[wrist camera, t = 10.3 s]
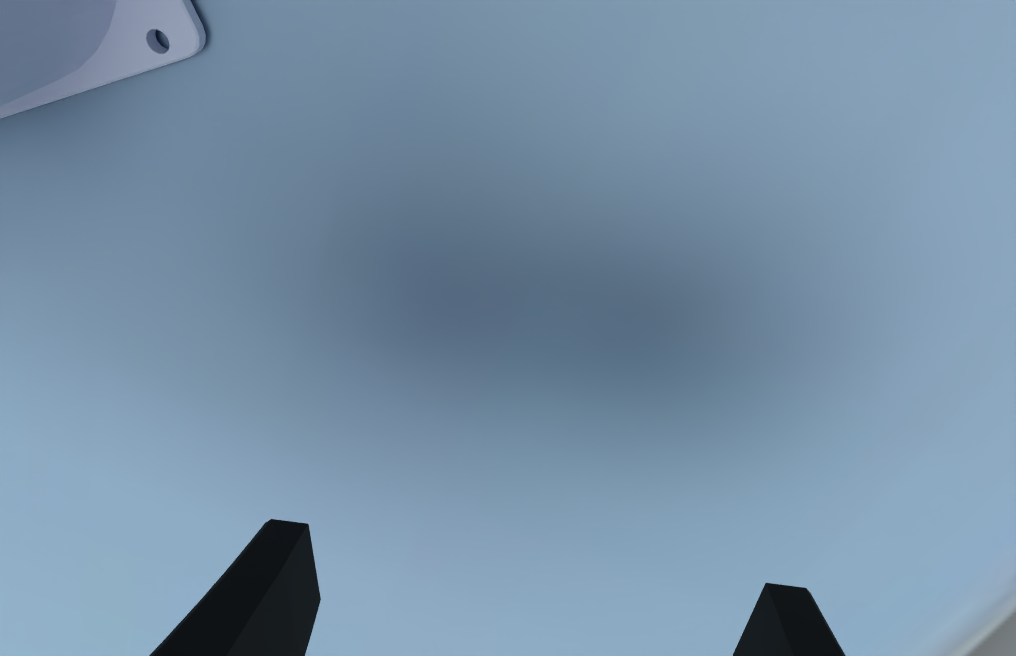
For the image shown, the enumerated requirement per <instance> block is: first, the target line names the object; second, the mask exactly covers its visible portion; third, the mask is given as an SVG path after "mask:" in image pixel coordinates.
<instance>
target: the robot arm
mask: <svg viewBox="0 0 1016 656" xmlns="http://www.w3.org/2000/svg"><path fill="white" fill-rule="evenodd" d="M156 29H158V30H159V31H161V32H163V33H164V34H165V35H166V37H167V38H168V41H169V44H170V46H169V49H166V48H164V47H162V46H161V45H160V44H159V43H158V41H157V39H156V36H155V32H156ZM205 39H206V34H205V31H204V28H203V25H202V23H201V21H200V19H199V17H198V15H197V13H196V11H195V9H194V7H193V5H192V3H191V1H190V0H0V119H1V118H4V117H7V116H10V115H13V114H16V113H19V112H22V111H25V110H29V109H32V108H35V107H38V106H41V105H44V104H47V103H50V102H53V101H56V100H59V99H63V98H66V97H69V96H72V95H75V94H78V93H81V92H84V91H87V90H90V89H93V88H96V87H100V86H103V85H106V84H109V83H112V82H115V81H118V80H121V79H124V78H127V77H130V76H133V75H137V74H140V73H143V72H146V71H149V70H152V69H155V68H158V67H161V66H164V65H167V64H170V63H174V62H177V61H180V60H183V59H186V58H189V57H191V56H193V55H195V54H196V53H198V52H199V51H201V50H202V49H203V47H204V45H205ZM320 600H321V599H320V593H319V586H318V580H317V574H316V568H315V562H314V556H313V549H312V543H311V537H310V531H309V525H308V524H305V523H298V522H290V521H282V520H274V519H271V520H269V521H268V522H266V523H265V524H264V525H263V526H262V528H261V529H260V530H259V531H258V533H257V534H256V535H255V536H254V538H253V539H252V540H251V541H250V543H249V544H248V545H247V546H246V547H245V549H244V550H243V551H242V552H241V554H240V555H239V556H238V557H237V558H236V560H235V561H234V562H233V563H232V564H231V565H230V567H229V568H228V569H227V570H226V571H225V573H224V574H223V575H222V576H221V577H220V578H219V580H218V581H217V582H216V583H215V584H214V585H213V586H212V588H211V589H210V590H209V591H208V592H207V593H206V595H205V596H204V597H203V598H202V599H201V600H200V601H199V602H198V604H197V605H196V606H195V607H194V608H193V609H192V610H191V611H190V612H189V613H188V614H187V616H186V617H185V618H184V619H183V620H182V621H181V622H180V623H179V624H178V625H177V627H176V628H175V629H174V630H173V631H172V632H171V633H170V634H169V635H168V636H167V638H166V639H165V640H164V641H163V642H162V643H161V644H160V645H159V646H158V647H157V648H156V649H155V650H154V651H153V652H152V653H151V654H150V655H149V656H305V653H306V650H307V646H308V643H309V640H310V636H311V633H312V629H313V625H314V622H315V618H316V615H317V611H318V607H319V604H320ZM733 656H845V654H844V652H843V651H842V649H841V647H840V645H839V644H838V642H837V640H836V638H835V636H834V635H833V633H832V631H831V629H830V628H829V626H828V624H827V622H826V620H825V619H824V617H823V615H822V613H821V611H820V609H819V608H818V606H817V604H816V602H815V600H814V599H813V597H812V595H811V593H810V592H809V591H808V590H807V589H806V588H802V587H794V586H786V585H778V584H771V583H766V584H765V586H764V588H763V590H762V592H761V594H760V597H759V599H758V601H757V603H756V605H755V608H754V610H753V612H752V614H751V616H750V619H749V621H748V623H747V625H746V627H745V630H744V632H743V634H742V636H741V638H740V640H739V643H738V645H737V647H736V649H735V651H734V654H733Z"/></svg>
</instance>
